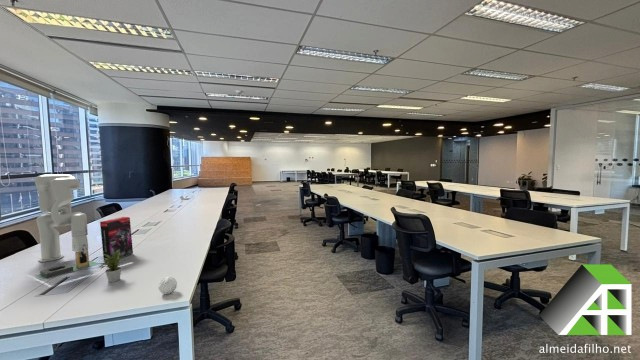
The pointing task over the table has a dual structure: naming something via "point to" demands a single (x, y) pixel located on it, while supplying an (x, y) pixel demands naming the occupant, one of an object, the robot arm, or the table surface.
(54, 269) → the header board
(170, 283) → the white rough ball
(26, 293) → the table surface
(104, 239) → the graphics card box
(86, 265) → the plug
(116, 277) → the house plant
